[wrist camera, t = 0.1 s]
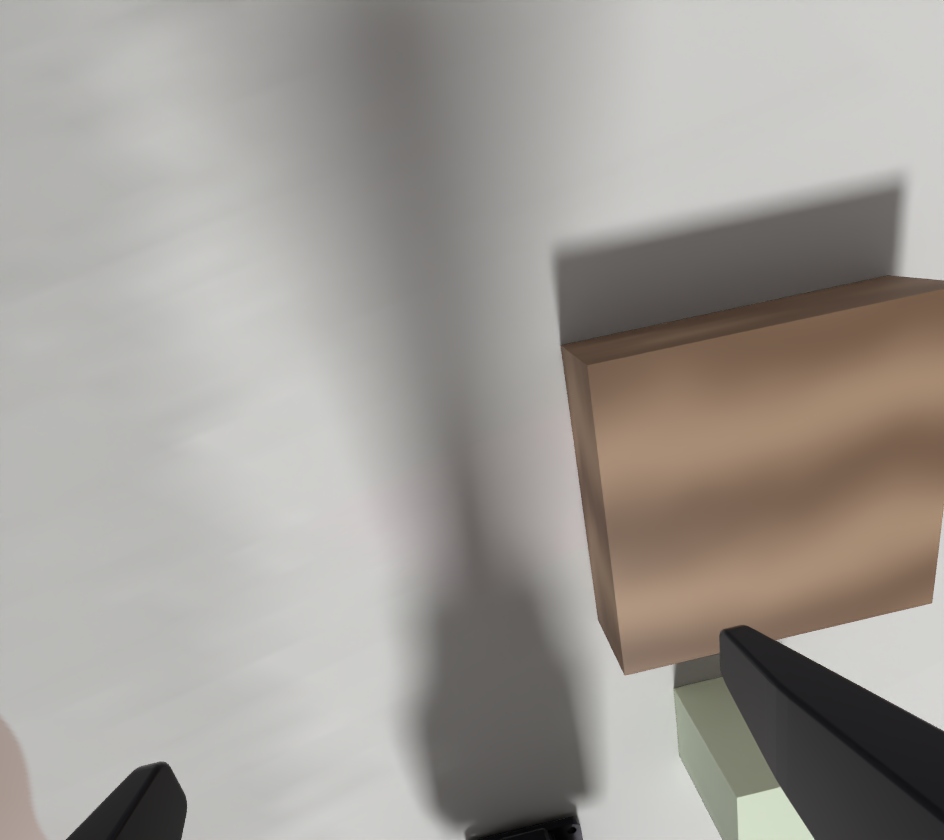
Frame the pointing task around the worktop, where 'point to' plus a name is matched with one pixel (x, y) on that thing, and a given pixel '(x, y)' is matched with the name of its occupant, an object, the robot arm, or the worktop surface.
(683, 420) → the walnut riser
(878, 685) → the worktop surface
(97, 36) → the worktop surface
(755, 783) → the sage block
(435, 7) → the worktop surface
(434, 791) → the worktop surface
